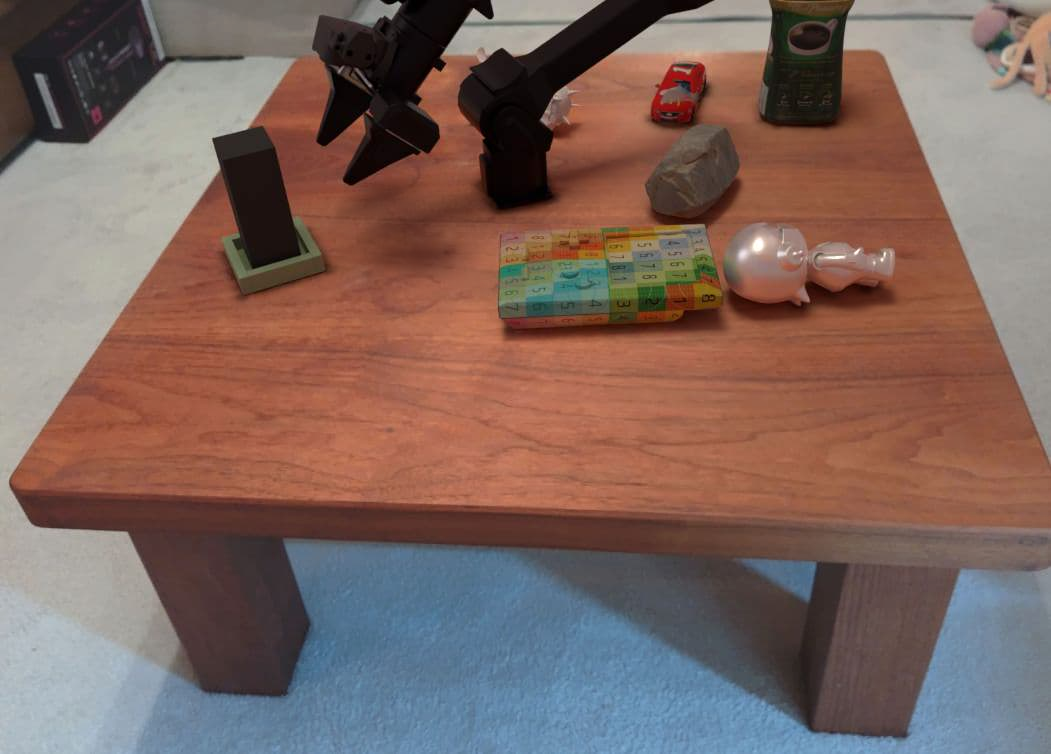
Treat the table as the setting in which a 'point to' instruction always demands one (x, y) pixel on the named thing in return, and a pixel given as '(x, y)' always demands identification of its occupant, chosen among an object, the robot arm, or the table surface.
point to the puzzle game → (605, 275)
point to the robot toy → (557, 105)
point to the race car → (679, 92)
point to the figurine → (796, 264)
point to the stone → (694, 172)
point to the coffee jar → (804, 61)
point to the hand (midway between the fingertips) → (332, 163)
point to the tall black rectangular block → (257, 196)
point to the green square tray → (278, 271)
